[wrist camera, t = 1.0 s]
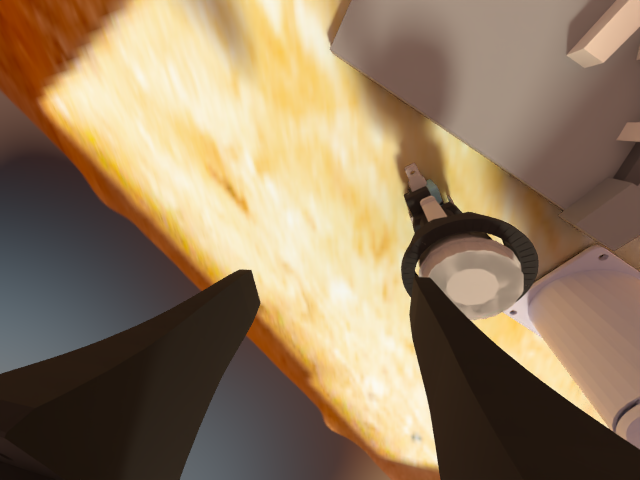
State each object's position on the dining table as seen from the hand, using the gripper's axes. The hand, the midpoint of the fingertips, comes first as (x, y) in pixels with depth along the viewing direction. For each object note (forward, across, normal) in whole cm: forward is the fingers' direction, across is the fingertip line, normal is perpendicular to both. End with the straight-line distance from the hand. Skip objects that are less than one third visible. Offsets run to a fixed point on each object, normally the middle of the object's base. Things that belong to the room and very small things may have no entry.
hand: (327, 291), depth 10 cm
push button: (+11, -6, 0) cm, 13 cm away
